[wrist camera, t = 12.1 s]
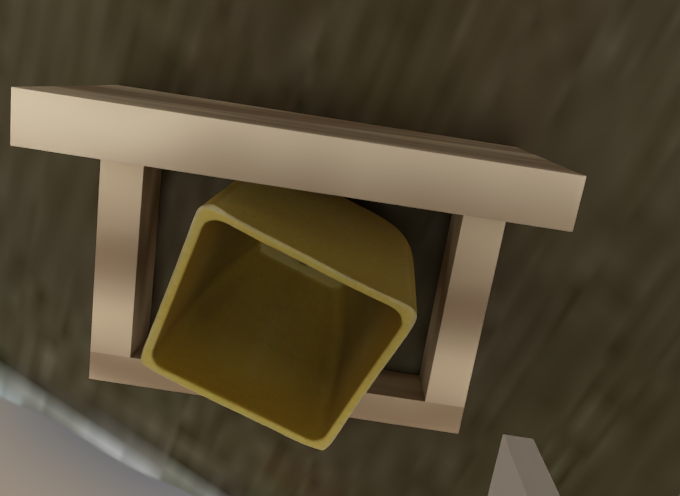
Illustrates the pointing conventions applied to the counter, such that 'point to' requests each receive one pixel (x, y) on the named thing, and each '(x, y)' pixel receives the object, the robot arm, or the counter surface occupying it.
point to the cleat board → (302, 174)
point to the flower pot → (284, 307)
